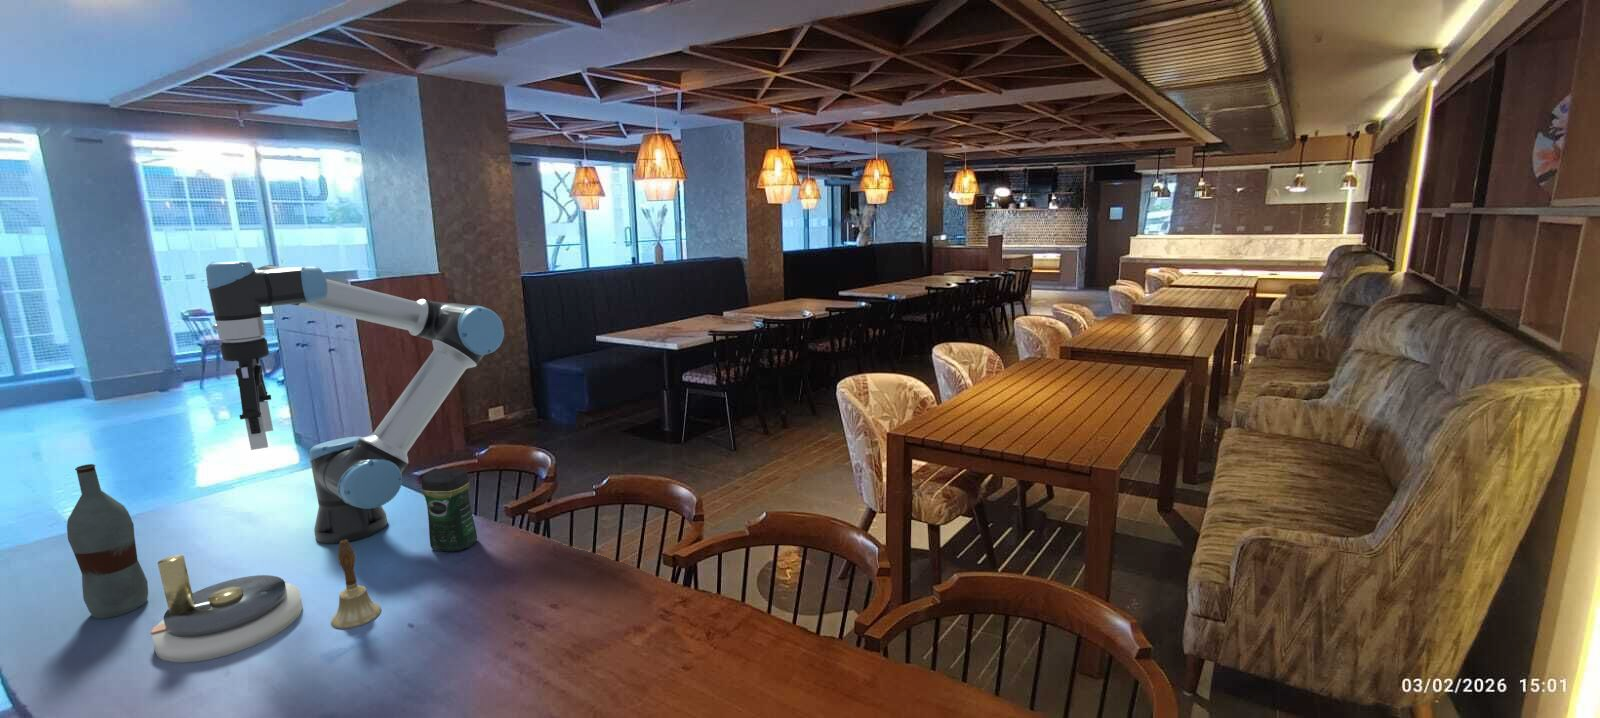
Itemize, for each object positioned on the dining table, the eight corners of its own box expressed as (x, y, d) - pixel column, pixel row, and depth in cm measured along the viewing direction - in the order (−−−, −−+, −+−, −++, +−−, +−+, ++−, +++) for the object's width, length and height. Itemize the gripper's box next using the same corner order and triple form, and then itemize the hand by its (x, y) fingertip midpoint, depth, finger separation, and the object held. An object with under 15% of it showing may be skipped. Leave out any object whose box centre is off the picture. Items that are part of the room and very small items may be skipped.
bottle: (96, 625, 136) (58, 478, 130) (81, 612, 141) (43, 470, 135) (158, 602, 144) (125, 462, 138) (142, 590, 149) (109, 455, 143)
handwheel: (292, 575, 146) (281, 521, 144) (280, 617, 131) (268, 558, 128) (179, 600, 138) (166, 543, 135) (152, 649, 122) (137, 585, 120)
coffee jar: (483, 538, 169) (473, 464, 165) (462, 554, 161) (451, 477, 157) (447, 536, 170) (436, 462, 167) (424, 551, 163) (413, 475, 159)
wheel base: (304, 584, 150) (301, 568, 149) (300, 634, 132) (296, 617, 131) (168, 618, 138) (164, 601, 138) (142, 678, 120) (138, 660, 119)
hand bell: (391, 608, 140) (379, 533, 136) (353, 632, 132) (339, 553, 129) (360, 602, 142) (347, 528, 139) (320, 625, 135) (306, 547, 131)
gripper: (227, 332, 151) (246, 428, 156) (210, 350, 131) (232, 460, 135) (270, 328, 155) (288, 421, 160) (260, 345, 135) (280, 452, 139)
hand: (262, 439), depth 148 cm, fingers open, 13 cm apart
